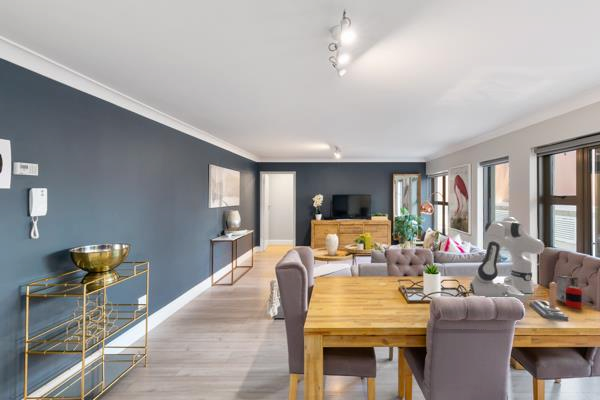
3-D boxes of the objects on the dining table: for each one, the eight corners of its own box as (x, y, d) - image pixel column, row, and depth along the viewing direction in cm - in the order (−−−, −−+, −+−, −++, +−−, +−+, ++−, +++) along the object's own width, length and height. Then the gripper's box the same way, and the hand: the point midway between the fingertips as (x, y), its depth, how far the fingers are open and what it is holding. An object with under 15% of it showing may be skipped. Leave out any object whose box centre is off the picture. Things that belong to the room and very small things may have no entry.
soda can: (564, 306, 196) (565, 287, 196) (566, 303, 201) (566, 284, 201) (580, 309, 191) (581, 290, 191) (581, 306, 196) (582, 287, 196)
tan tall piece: (543, 309, 183) (544, 280, 183) (557, 311, 181) (557, 281, 181) (547, 312, 178) (548, 282, 178) (561, 314, 176) (562, 284, 176)
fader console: (529, 304, 197) (530, 299, 197) (550, 307, 194) (551, 301, 194) (544, 317, 177) (544, 311, 177) (568, 320, 173) (568, 314, 173)
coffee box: (567, 298, 210) (568, 275, 210) (577, 302, 204) (578, 277, 204) (556, 299, 209) (557, 275, 208) (566, 302, 202) (566, 278, 202)
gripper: (506, 291, 178) (534, 294, 173) (496, 281, 197) (522, 284, 193) (505, 302, 178) (534, 305, 173) (496, 291, 197) (521, 294, 193)
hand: (527, 294), depth 183 cm, fingers open, 8 cm apart
